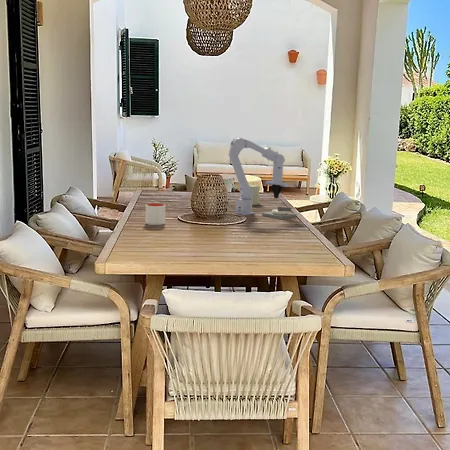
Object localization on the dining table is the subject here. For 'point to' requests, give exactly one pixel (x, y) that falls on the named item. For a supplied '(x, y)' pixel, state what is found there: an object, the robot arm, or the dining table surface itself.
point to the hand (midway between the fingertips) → (276, 197)
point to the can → (255, 194)
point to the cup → (155, 214)
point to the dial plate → (288, 215)
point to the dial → (281, 210)
